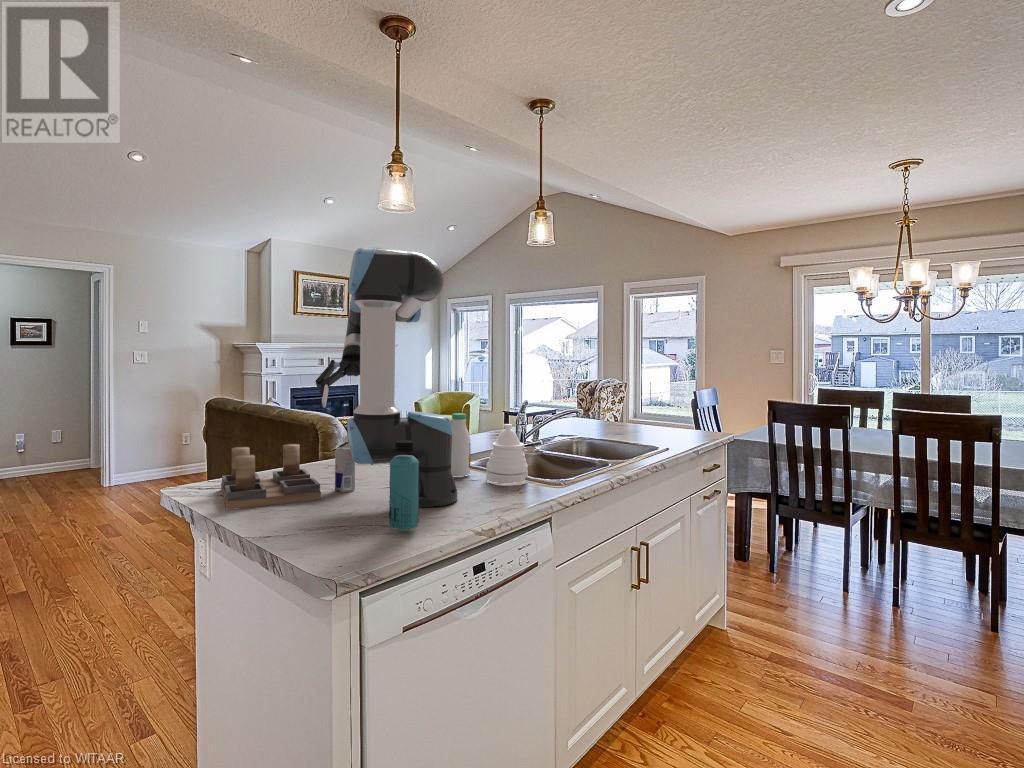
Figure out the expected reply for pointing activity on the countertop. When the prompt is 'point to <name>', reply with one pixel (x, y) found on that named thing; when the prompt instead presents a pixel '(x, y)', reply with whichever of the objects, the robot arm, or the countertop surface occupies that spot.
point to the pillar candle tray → (267, 481)
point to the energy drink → (344, 470)
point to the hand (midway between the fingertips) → (347, 405)
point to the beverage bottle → (404, 488)
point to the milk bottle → (460, 446)
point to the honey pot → (507, 459)
